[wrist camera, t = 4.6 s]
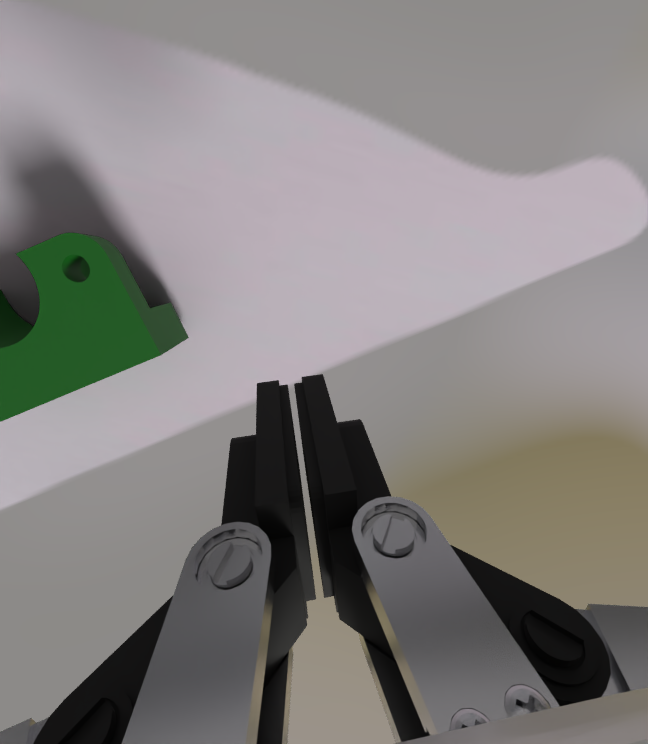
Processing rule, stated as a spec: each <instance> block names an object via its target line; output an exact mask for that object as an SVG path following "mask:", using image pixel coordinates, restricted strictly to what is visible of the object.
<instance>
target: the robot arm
mask: <svg viewBox="0 0 648 744" xmlns="http://www.w3.org/2000/svg"><path fill="white" fill-rule="evenodd" d="M294 386H295V393H296V401H297V408H298V416H299V424H300V431H301V439H302V447H303V454H304V462H305V468H306V476H307V483H308V490H309V497H310V503H311V511H312V517H313V524H314V531H315V538H316V545H317V551H318V558H319V565H320V572H321V579H322V585H323V592H324V598H325V597H331V596H334V599H335V605H336V610H337V612H339V618H340V620H342V621H343V622H344V623H346V624H347V625H348V626H350V627H351V628H353V629H354V630H355V631H357V632H358V634H359V639H360V642H361V646H362V649H363V651H364V654H365V657H366V660H367V663H368V666H369V668H370V671H371V674H372V677H373V679H374V683H375V685H376V688H377V691H378V694H379V697H380V699H381V702H382V705H383V708H384V711H385V714H386V717H387V719H388V722H389V725H390V728H391V731H392V733H393V737H394V739H395V742H396V744H648V607H636V606H619V605H600V604H588V605H587V608H586V610H581V609H574V608H572V607H571V606H569V605H568V604H566V603H564V602H563V601H561V600H560V599H558V598H556V597H554V596H552V595H550V594H548V593H546V592H544V591H542V590H540V589H538V588H536V587H534V586H532V585H530V584H528V583H526V582H523V581H522V580H519V579H518V578H516V577H514V576H512V575H510V574H507V573H506V572H503V571H502V570H500V569H498V568H496V567H494V566H492V565H490V564H488V563H485V562H484V561H482V560H480V559H478V558H475V557H474V556H472V555H470V554H468V553H466V552H463V551H462V550H460V549H458V548H456V547H454V546H452V545H450V544H449V543H448V541H447V540H446V538H445V537H444V535H443V534H442V533H441V531H440V530H439V528H438V527H437V525H436V524H435V523H434V521H433V519H432V518H431V517H430V515H429V514H428V513H427V512H426V511H425V510H424V509H423V508H422V507H420V506H419V505H417V504H416V503H414V502H413V501H410V500H407V499H404V498H401V497H391V494H390V492H389V489H388V487H387V484H386V481H385V479H384V476H383V474H382V471H381V469H380V466H379V464H378V461H377V459H376V456H375V453H374V451H373V448H372V446H371V443H370V441H369V438H368V436H367V433H366V430H365V428H364V425H363V423H362V421H361V420H360V419H358V420H352V421H345V422H338V423H337V421H336V417H335V415H334V411H333V407H332V404H331V400H330V397H329V394H328V391H327V387H326V384H325V380H324V377H323V374H321V375H313V376H306V377H302V383H296V384H294ZM315 599H316V595H315V588H314V579H313V571H312V564H311V557H310V548H309V540H308V532H307V524H306V516H305V509H304V501H303V493H302V485H301V477H300V469H299V462H298V456H297V448H296V441H295V435H294V427H293V420H292V413H291V406H290V398H289V391H288V385H281V386H279V380H277V381H269V382H262V383H257V413H256V435H251V436H245V437H237V438H232V439H231V443H230V451H229V460H228V469H227V479H226V489H225V498H224V506H223V516H222V525H221V526H219V527H216V528H214V529H212V530H211V531H209V532H208V533H206V534H205V535H204V536H203V537H201V538H200V539H199V540H198V541H197V543H196V544H195V545H194V546H193V547H192V549H191V551H190V552H189V554H188V557H187V558H186V561H185V563H184V566H183V569H182V572H181V575H180V578H179V581H178V584H177V586H176V589H175V592H174V595H173V596H172V597H171V598H170V599H169V600H168V601H167V602H166V603H165V604H164V605H163V606H162V607H161V608H160V609H159V610H158V611H156V612H155V613H154V614H153V615H152V616H151V617H150V618H149V619H148V620H147V621H146V622H145V623H144V624H143V625H142V626H141V627H140V628H139V629H138V630H137V631H136V632H135V633H133V634H132V636H130V637H129V638H128V639H127V640H126V641H125V642H124V643H123V644H122V645H121V646H120V647H119V648H118V649H117V650H116V651H115V652H114V653H113V654H112V655H111V656H109V657H108V658H107V659H106V660H105V661H104V662H103V663H102V664H101V665H100V666H99V667H98V668H97V669H96V670H95V671H94V672H93V673H92V674H91V675H90V676H89V677H88V678H87V679H85V680H84V681H83V682H82V683H81V684H80V685H79V687H77V688H76V689H75V690H74V691H73V692H72V693H71V694H70V695H69V696H68V697H67V698H66V699H65V700H64V701H63V702H62V703H61V704H60V705H59V707H58V708H57V709H56V710H55V711H54V712H53V713H52V714H51V716H50V717H48V718H46V719H44V720H42V721H40V722H37V723H36V722H35V721H34V720H33V719H32V718H30V719H28V720H26V721H23V722H21V723H19V724H16V725H14V726H12V727H10V728H8V729H5V730H3V731H1V732H0V744H287V743H288V727H289V713H290V697H291V682H292V666H293V644H294V643H295V642H296V640H297V639H298V637H299V636H300V635H301V633H302V632H303V630H304V629H305V628H306V626H307V621H306V618H308V614H307V604H306V601H309V600H315Z"/></svg>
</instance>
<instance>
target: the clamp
mask: <svg viewBox="0 0 648 744" xmlns="http://www.w3.org/2000/svg"><path fill="white" fill-rule="evenodd" d="M16 255H17V256H18V257H19V258H20V259H21V260H22V261H23V262H24V263H25V264H26V266H27V267H28V269H29V270H30V272H31V274H32V276H33V278H34V280H35V282H36V285H37V288H38V293H39V300H40V307H39V314H38V318H37V321H36V323H35V325H34V326H32V325H30V324H29V323H27V322H26V321H24V320H23V319H22V318H21V317H19V316H18V315H17V314H16V313H15V311H14V310H13V309H12V308H11V306H10V305H9V303H8V301H7V299H6V298H5V296H4V295H3V293H2V291H1V290H0V422H1V421H3V420H6V419H8V418H10V417H13V416H15V415H18V414H20V413H22V412H25V411H27V410H30V409H32V408H35V407H37V406H39V405H42V404H44V403H47V402H49V401H51V400H54V399H56V398H59V397H61V396H63V395H66V394H68V393H71V392H73V391H76V390H78V389H80V388H83V387H85V386H88V385H90V384H92V383H95V382H97V381H100V380H102V379H104V378H107V377H109V376H112V375H114V374H116V373H119V372H121V371H124V370H126V369H129V368H131V367H133V366H136V365H138V364H141V363H143V362H145V361H148V360H150V359H153V358H155V357H157V356H160V355H162V354H163V353H165V352H167V351H168V350H170V349H171V348H173V347H175V346H176V345H178V344H179V343H181V342H182V341H184V340H186V339H187V338H189V337H188V335H187V333H186V331H185V329H184V328H183V326H182V324H181V322H180V320H179V318H178V316H177V314H176V312H175V310H174V308H173V306H172V304H171V303H167V304H163V305H160V306H156V307H152V308H149V306H148V304H147V302H146V300H145V298H144V296H143V294H142V292H141V291H140V289H139V287H138V285H137V283H136V281H135V279H134V277H133V275H132V274H131V272H130V270H129V268H128V266H127V264H126V262H125V260H124V258H123V257H122V255H121V253H120V252H119V250H118V249H117V248H116V247H115V246H114V245H113V244H112V243H110V242H109V241H107V240H105V239H103V238H101V237H97V236H92V235H85V234H79V233H64V234H61V235H58V236H56V237H53V238H51V239H49V240H47V241H44V242H42V243H40V244H37V245H35V246H33V247H30V248H28V249H26V250H24V251H21V252H19V253H17V254H16Z"/></svg>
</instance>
